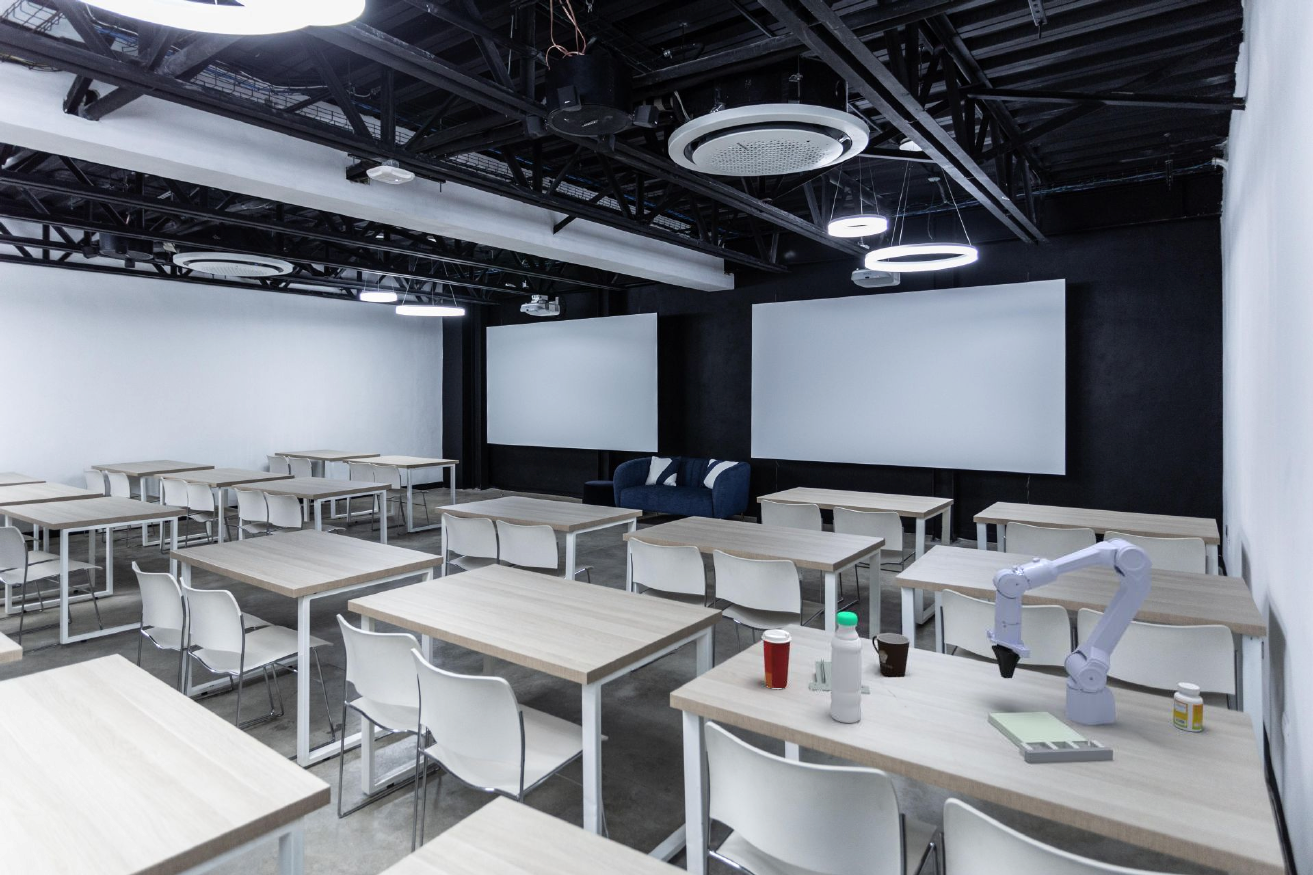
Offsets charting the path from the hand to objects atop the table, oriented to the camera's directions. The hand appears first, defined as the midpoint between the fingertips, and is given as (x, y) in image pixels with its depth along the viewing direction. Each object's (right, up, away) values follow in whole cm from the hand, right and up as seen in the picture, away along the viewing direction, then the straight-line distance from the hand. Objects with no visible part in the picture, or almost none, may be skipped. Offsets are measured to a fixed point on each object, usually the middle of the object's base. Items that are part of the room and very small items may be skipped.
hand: (1006, 677), depth 168 cm
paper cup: (-52, -9, +19) cm, 56 cm away
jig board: (0, -10, -11) cm, 15 cm away
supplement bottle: (+39, -10, -5) cm, 41 cm away
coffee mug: (-18, -8, +28) cm, 34 cm away
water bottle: (-39, -10, 0) cm, 40 cm away
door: (+1, -9, -14) cm, 16 cm away
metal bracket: (-35, -9, +21) cm, 42 cm away
